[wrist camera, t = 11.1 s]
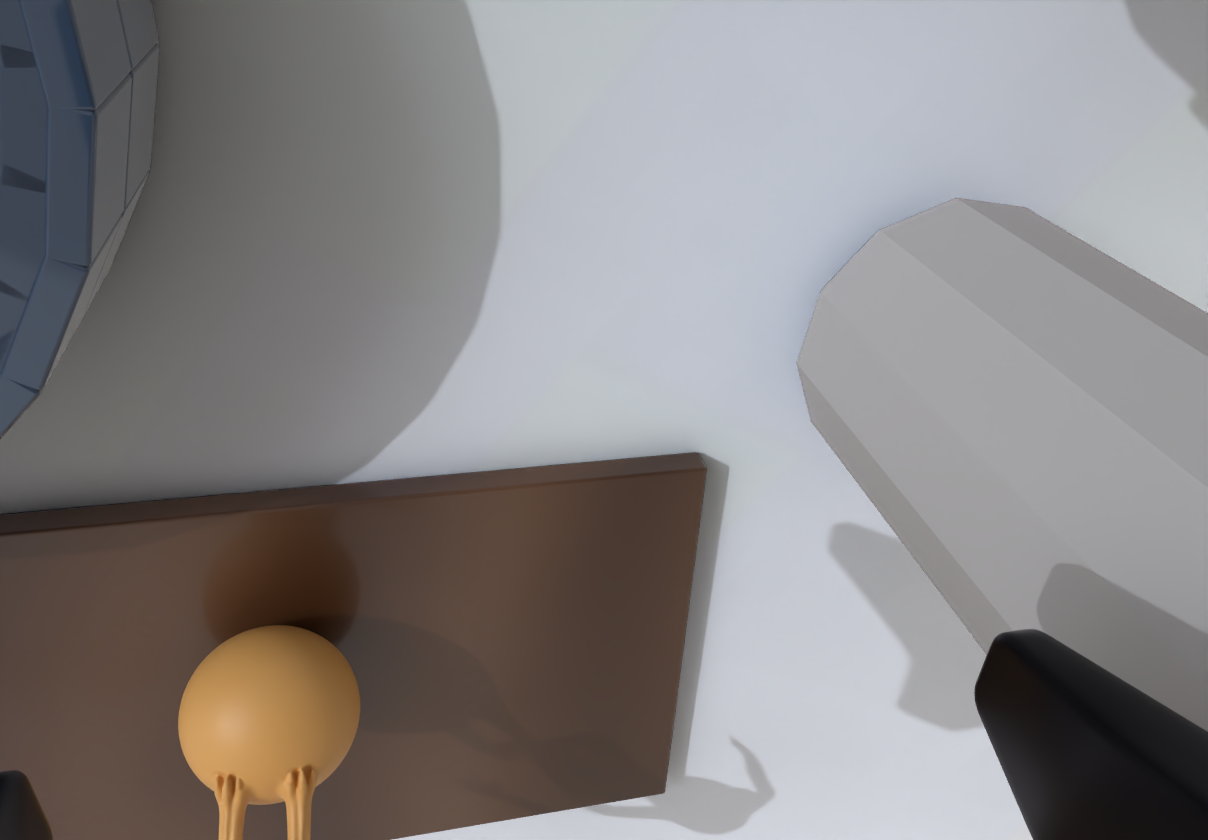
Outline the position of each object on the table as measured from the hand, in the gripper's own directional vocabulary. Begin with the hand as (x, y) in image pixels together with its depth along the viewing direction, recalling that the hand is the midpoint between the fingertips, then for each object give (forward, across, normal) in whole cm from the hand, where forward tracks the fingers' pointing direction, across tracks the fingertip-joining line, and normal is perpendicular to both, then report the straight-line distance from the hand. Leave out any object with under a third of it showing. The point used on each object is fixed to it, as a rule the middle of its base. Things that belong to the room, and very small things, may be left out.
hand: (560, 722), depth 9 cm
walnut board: (+13, +4, +13) cm, 19 cm away
